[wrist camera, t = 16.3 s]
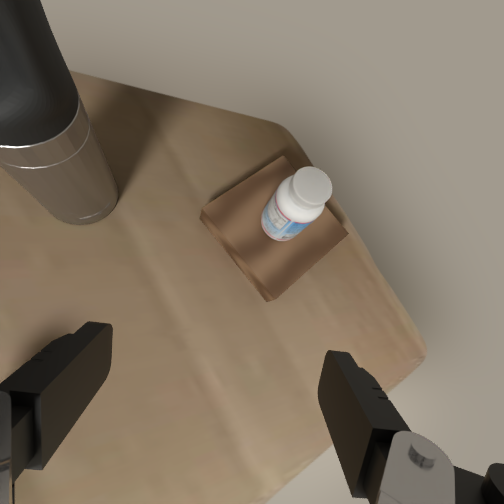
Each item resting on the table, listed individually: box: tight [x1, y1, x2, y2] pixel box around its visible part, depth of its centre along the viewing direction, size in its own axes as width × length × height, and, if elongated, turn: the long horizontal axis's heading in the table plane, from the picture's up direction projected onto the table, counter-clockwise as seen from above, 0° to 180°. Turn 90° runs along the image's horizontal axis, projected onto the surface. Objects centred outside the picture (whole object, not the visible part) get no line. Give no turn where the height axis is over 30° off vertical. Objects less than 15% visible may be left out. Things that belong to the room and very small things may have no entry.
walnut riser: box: [200, 155, 349, 302], centre depth 43 cm, size 16×16×4 cm
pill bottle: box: [261, 166, 332, 241], centre depth 36 cm, size 6×6×11 cm
